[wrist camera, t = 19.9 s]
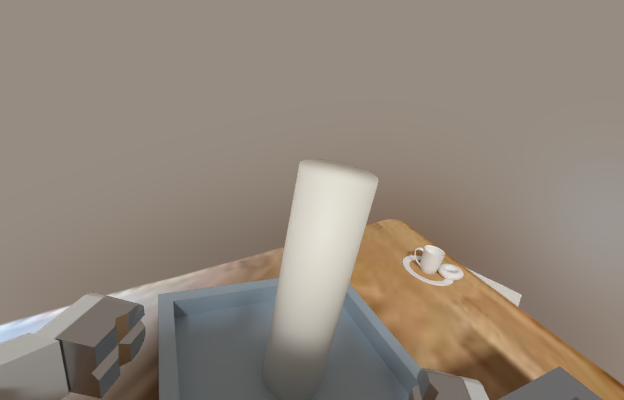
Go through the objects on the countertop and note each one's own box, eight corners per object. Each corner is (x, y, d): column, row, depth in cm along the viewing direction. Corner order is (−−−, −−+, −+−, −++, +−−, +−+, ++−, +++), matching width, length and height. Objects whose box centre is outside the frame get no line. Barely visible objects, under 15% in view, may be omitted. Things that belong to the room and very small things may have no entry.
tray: (464, 464, 22) (480, 438, 21) (160, 662, 12) (160, 635, 11) (333, 289, 38) (338, 270, 37) (158, 319, 29) (158, 294, 28)
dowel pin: (332, 375, 25) (392, 179, 19) (292, 417, 22) (349, 190, 15) (291, 338, 28) (331, 157, 22) (250, 369, 24) (282, 161, 18)
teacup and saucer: (463, 278, 48) (473, 257, 46) (448, 298, 42) (459, 274, 40) (413, 253, 52) (420, 233, 51) (393, 268, 47) (400, 245, 45)
